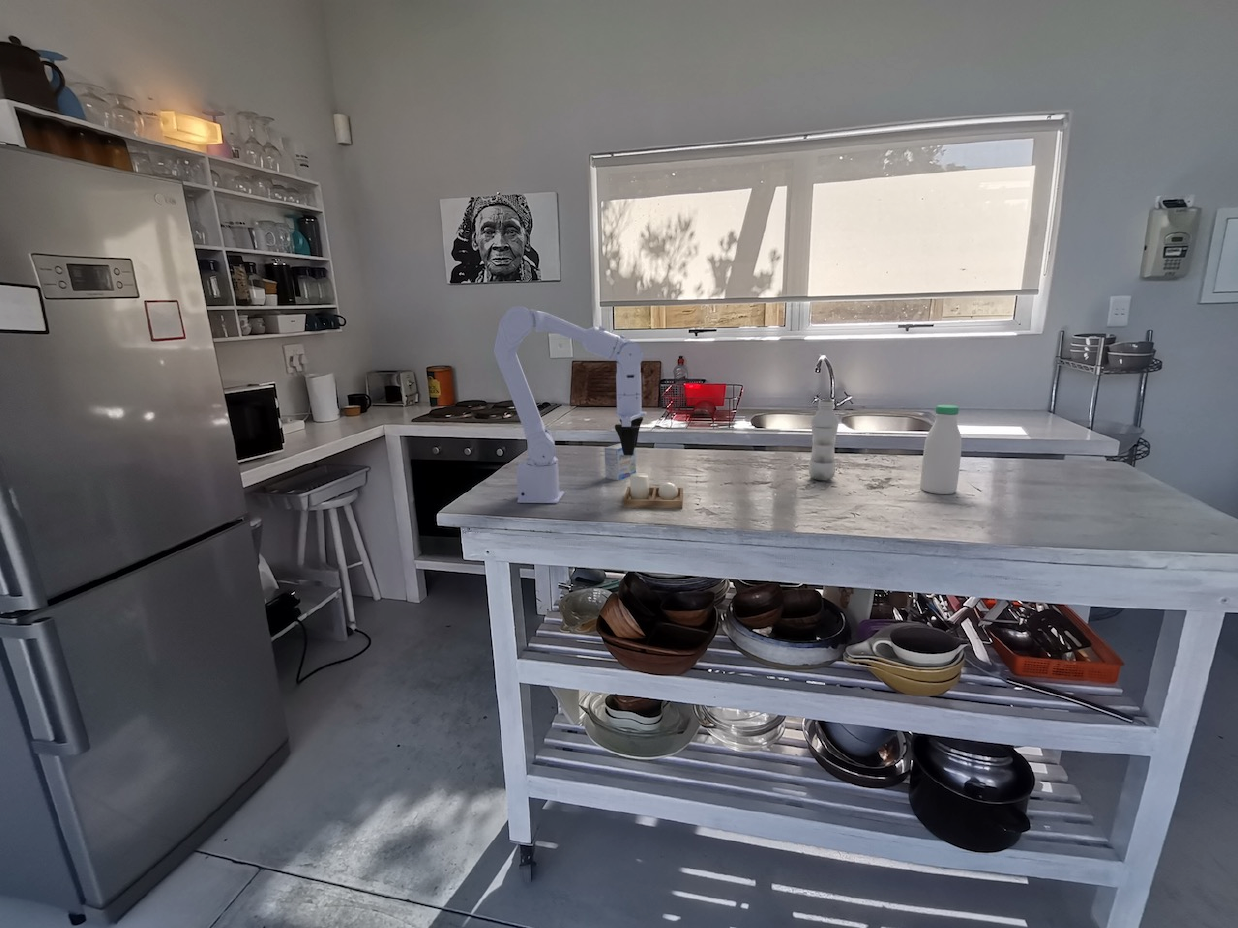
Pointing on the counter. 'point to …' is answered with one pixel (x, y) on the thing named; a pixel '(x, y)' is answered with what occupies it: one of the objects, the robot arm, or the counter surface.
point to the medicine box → (619, 463)
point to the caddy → (653, 500)
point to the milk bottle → (942, 453)
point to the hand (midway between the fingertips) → (630, 451)
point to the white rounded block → (639, 486)
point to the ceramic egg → (668, 491)
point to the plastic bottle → (823, 441)
